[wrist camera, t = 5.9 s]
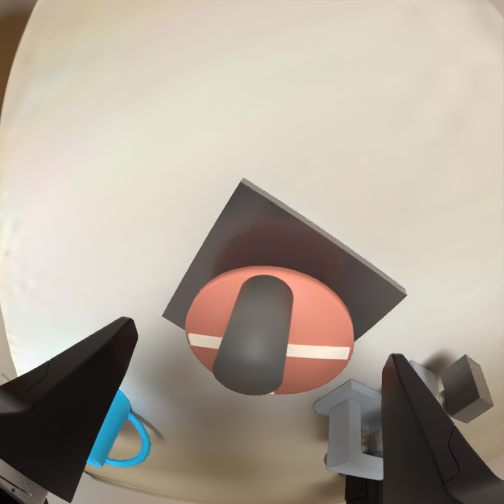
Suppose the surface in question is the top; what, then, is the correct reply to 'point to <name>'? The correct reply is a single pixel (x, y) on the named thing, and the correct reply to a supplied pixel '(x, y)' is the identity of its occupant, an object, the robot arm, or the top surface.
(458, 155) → the top surface
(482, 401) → the hook rod
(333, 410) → the eye bracket
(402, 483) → the robot arm
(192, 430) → the top surface
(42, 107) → the top surface
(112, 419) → the mug
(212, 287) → the handwheel
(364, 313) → the wheel mount
